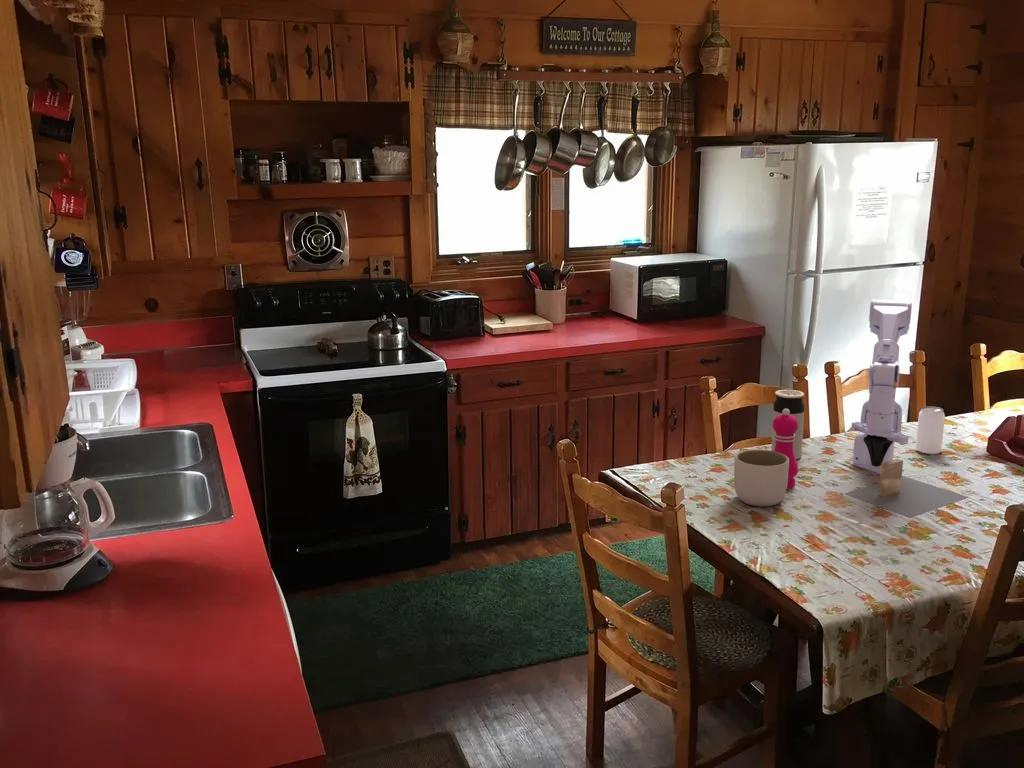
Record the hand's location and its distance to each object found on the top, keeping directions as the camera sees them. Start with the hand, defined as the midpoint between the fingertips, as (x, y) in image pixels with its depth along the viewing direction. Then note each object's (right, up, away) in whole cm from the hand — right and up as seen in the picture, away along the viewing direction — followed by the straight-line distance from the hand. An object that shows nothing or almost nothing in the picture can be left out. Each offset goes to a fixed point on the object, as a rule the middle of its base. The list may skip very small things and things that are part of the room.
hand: (876, 465), depth 215 cm
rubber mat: (+6, -7, -3) cm, 10 cm away
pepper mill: (-21, -6, +6) cm, 23 cm away
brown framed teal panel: (+2, -7, -2) cm, 7 cm away
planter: (-29, -8, -3) cm, 31 cm away
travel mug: (-14, 0, +28) cm, 31 cm away
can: (+26, +1, +29) cm, 39 cm away
